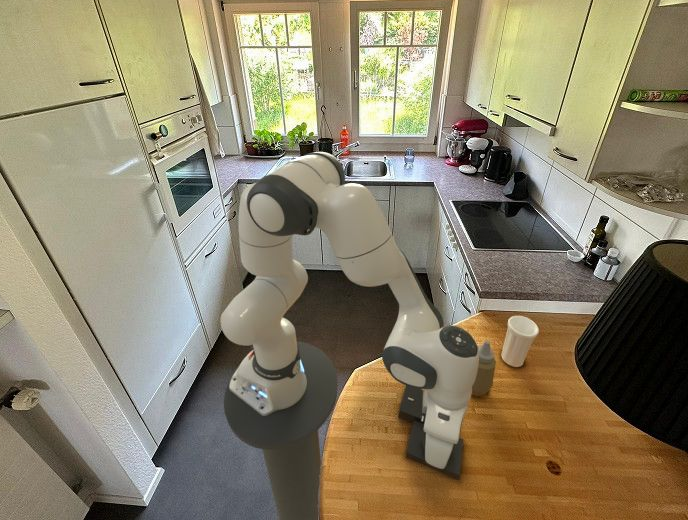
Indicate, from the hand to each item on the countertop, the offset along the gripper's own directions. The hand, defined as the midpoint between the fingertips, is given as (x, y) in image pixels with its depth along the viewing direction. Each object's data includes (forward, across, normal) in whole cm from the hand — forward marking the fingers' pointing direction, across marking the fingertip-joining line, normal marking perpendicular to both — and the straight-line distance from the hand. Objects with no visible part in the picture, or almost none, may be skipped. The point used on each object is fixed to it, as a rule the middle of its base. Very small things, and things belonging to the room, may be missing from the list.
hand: (439, 432), depth 73 cm
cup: (+8, -35, +18) cm, 40 cm away
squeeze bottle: (+8, -21, +8) cm, 24 cm away
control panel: (+8, -8, -4) cm, 12 cm away
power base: (+8, 0, 0) cm, 8 cm away
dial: (+5, -8, -4) cm, 11 cm away
